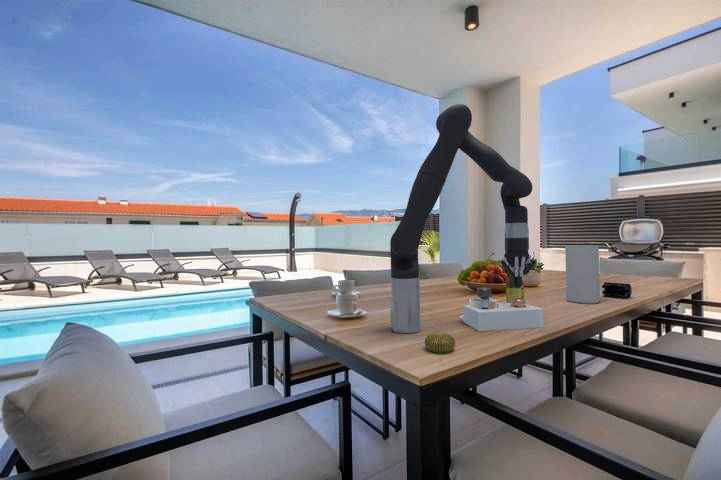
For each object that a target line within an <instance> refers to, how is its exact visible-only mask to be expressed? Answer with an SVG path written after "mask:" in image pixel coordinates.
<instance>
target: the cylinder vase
mask: <svg viewBox="0 0 721 480" xmlns="http://www.w3.org/2000/svg"><path fill="white" fill-rule="evenodd" d="M599 246H600V245H598V244H597V245H596V244H595V245H592V244H584V245H583V244H581V245H579V244H577V245H576V244H575V245H572V244H571V245H564V251H565V252H564V253H565V287H566V289H565V293H566V301H568V302H571V303H573V304H584V305H586V304H587V305H593V304H594V305H595V304H598V303H600V301H601V293H600V292H601V291H600V290H601V287H600V281H601V280H600V254H599V253H600V251H599V250H600V249H599V248H600V247H599Z"/></svg>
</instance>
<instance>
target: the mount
mask: <svg viewBox="0 0 721 480" xmlns="http://www.w3.org/2000/svg"><path fill="white" fill-rule="evenodd" d="M498 304H499V308H494V309H479V308H475V307H470V305H471V304H463V305H462V314H463V319H462V321H463V323H464V324H466V325H468V326H469V327H471V328H472V329H474V330H476V331H478V332H486V331H489V332H490V331H505V330H506V331H507V330H508V331H509V330H522V329H523V330H527V329H528V330H529V329H540V328H541V329H543V328H545V323H544V321H545V320H544V309H543V308H541V307H537V306H534V305H532V304H528V303H526V307H523V308H515V307H512V306H511V303H501V302H500V303H498Z"/></svg>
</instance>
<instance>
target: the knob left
mask: <svg viewBox="0 0 721 480" xmlns="http://www.w3.org/2000/svg"><path fill="white" fill-rule="evenodd" d="M492 293H493V292H492V288H491V287H476V297H478V298H479V300H480V299H483V300H484V301H481V307H482V308H481V309H488V304H490V298H491V297H492V295H493V294H492ZM488 302H489V303H488Z"/></svg>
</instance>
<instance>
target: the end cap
mask: <svg viewBox="0 0 721 480" xmlns="http://www.w3.org/2000/svg"><path fill="white" fill-rule="evenodd" d="M601 289H603V290H601V293H602V297H603V298H609V299H618V300H628V299H629V298H630V297H631V296H632V291H633V288H632V285H631V284H630V283H621V282H609V281H608V282H607V281H605V282H603V284H602V286H601Z"/></svg>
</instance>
